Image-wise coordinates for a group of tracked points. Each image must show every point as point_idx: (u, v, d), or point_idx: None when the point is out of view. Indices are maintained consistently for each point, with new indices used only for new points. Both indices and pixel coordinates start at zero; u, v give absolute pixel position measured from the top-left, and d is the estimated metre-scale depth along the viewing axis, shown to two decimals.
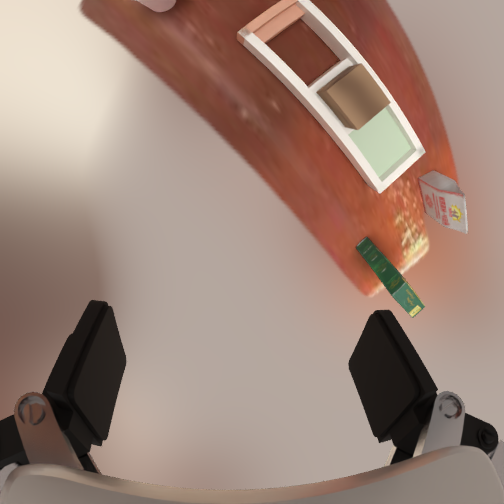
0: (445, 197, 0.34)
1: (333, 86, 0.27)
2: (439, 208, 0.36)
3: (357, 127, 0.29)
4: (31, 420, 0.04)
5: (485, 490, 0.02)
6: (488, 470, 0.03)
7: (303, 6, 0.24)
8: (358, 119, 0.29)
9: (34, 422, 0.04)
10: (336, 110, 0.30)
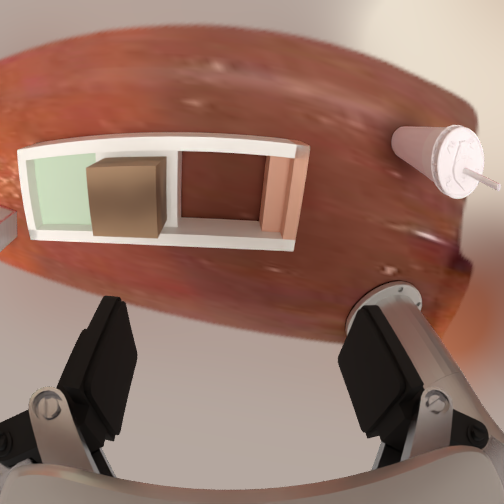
0: None
1: (154, 179, 0.20)
2: None
3: (89, 169, 0.19)
4: (46, 414, 0.05)
5: (485, 490, 0.02)
6: (488, 470, 0.03)
7: (271, 236, 0.26)
8: (97, 178, 0.19)
9: (48, 417, 0.05)
10: (127, 160, 0.21)
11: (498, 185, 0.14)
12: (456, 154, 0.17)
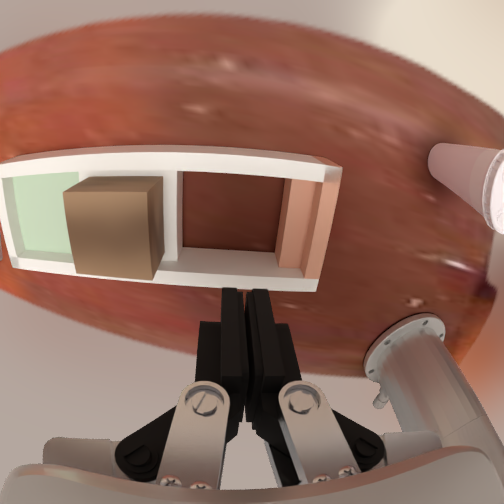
0: None
1: (145, 209, 0.16)
2: None
3: (66, 194, 0.15)
4: (196, 406, 0.06)
5: (485, 490, 0.02)
6: (488, 470, 0.03)
7: (290, 275, 0.22)
8: (76, 205, 0.15)
9: (197, 410, 0.06)
10: (114, 182, 0.17)
11: None
12: None
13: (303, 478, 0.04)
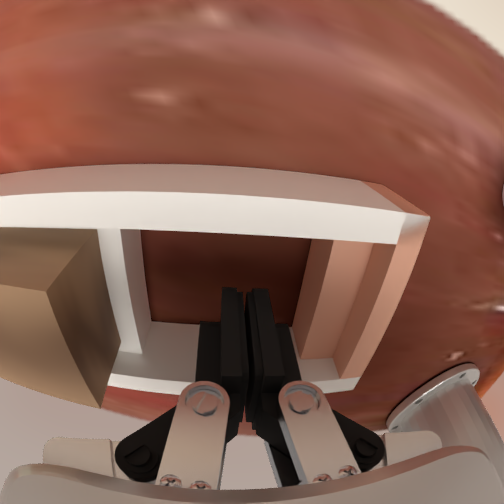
0: None
1: (53, 319, 0.07)
2: None
3: None
4: (196, 406, 0.06)
5: (485, 490, 0.02)
6: (488, 470, 0.03)
7: (318, 375, 0.13)
8: None
9: (197, 410, 0.06)
10: (14, 248, 0.08)
11: None
12: None
13: (303, 478, 0.04)
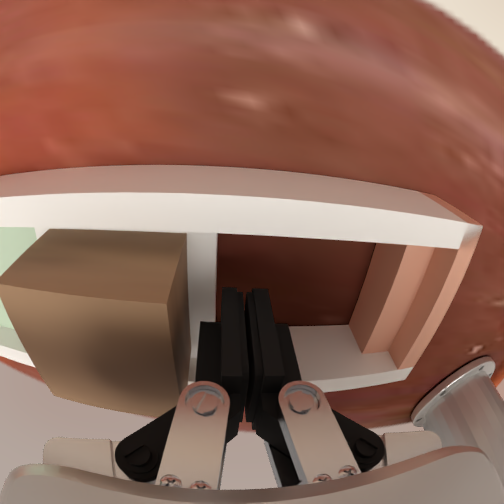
0: None
1: (165, 333, 0.07)
2: None
3: (2, 288, 0.06)
4: (196, 406, 0.06)
5: (485, 490, 0.02)
6: (488, 470, 0.03)
7: (380, 367, 0.13)
8: (23, 310, 0.06)
9: (198, 410, 0.06)
10: (90, 253, 0.08)
11: None
12: None
13: (303, 478, 0.04)
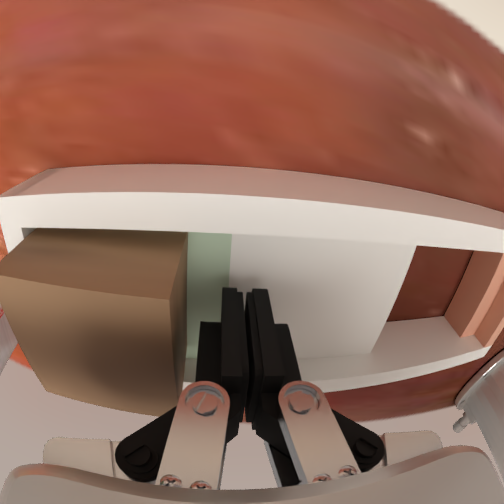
0: None
1: (166, 330, 0.07)
2: None
3: None
4: (197, 406, 0.06)
5: (485, 490, 0.02)
6: (488, 470, 0.03)
7: (473, 346, 0.14)
8: (17, 302, 0.06)
9: (198, 410, 0.06)
10: (89, 245, 0.08)
11: None
12: None
13: (303, 478, 0.04)
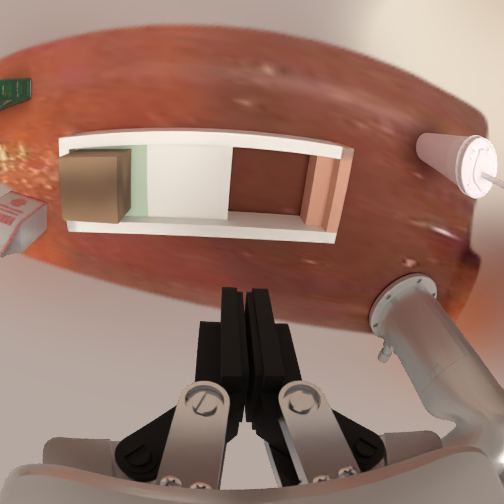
0: (10, 227, 0.21)
1: (115, 169, 0.21)
2: (3, 212, 0.22)
3: (61, 159, 0.19)
4: (196, 406, 0.06)
5: (485, 490, 0.02)
6: (488, 470, 0.03)
7: (315, 230, 0.28)
8: (67, 167, 0.20)
9: (197, 410, 0.06)
10: (95, 152, 0.22)
11: None
12: (476, 160, 0.19)
13: (303, 478, 0.04)
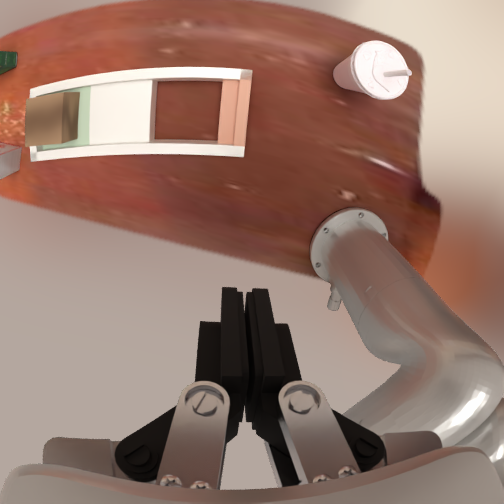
0: None
1: (62, 101, 0.22)
2: None
3: (28, 100, 0.21)
4: (196, 406, 0.06)
5: (485, 490, 0.02)
6: (488, 470, 0.03)
7: (224, 144, 0.30)
8: (31, 105, 0.21)
9: (197, 410, 0.06)
10: None
11: (408, 71, 0.17)
12: (374, 60, 0.20)
13: (303, 478, 0.04)
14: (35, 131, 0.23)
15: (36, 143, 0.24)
